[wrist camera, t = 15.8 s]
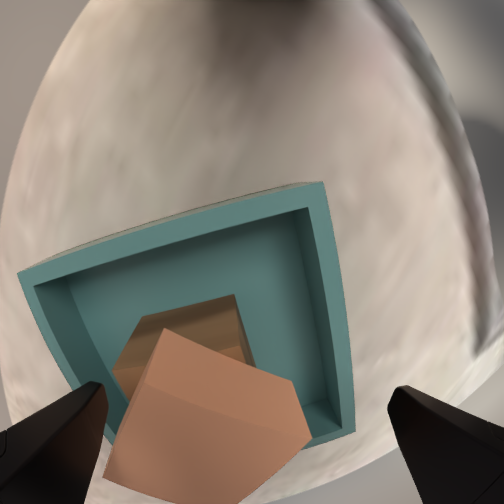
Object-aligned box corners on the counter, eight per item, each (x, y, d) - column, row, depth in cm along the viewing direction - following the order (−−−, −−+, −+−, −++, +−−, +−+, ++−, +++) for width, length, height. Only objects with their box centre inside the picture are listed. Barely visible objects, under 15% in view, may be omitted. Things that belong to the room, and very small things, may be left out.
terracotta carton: (164, 327, 9) (144, 382, 6) (291, 381, 10) (312, 437, 7) (119, 427, 10) (102, 477, 7) (220, 463, 11) (223, 513, 8)
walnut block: (142, 316, 14) (111, 370, 9) (234, 293, 14) (240, 345, 9) (175, 389, 15) (164, 452, 10) (257, 371, 15) (271, 435, 11)
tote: (56, 254, 14) (16, 273, 10) (297, 182, 14) (323, 181, 10) (145, 432, 17) (136, 472, 13) (334, 392, 18) (355, 431, 14)
